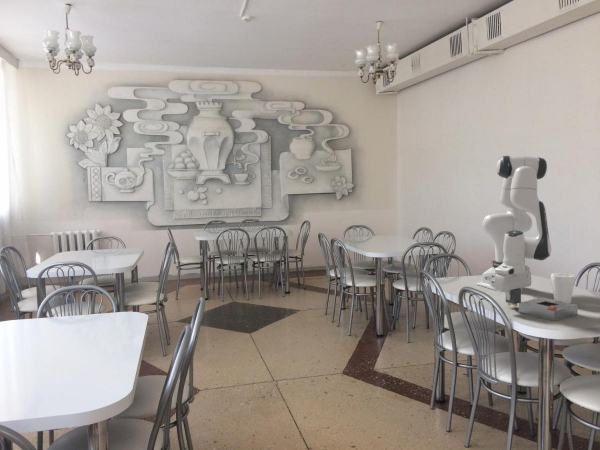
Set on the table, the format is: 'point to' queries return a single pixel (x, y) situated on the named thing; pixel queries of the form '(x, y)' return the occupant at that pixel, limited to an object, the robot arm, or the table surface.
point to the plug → (514, 297)
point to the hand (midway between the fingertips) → (513, 298)
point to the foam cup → (562, 286)
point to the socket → (548, 308)
